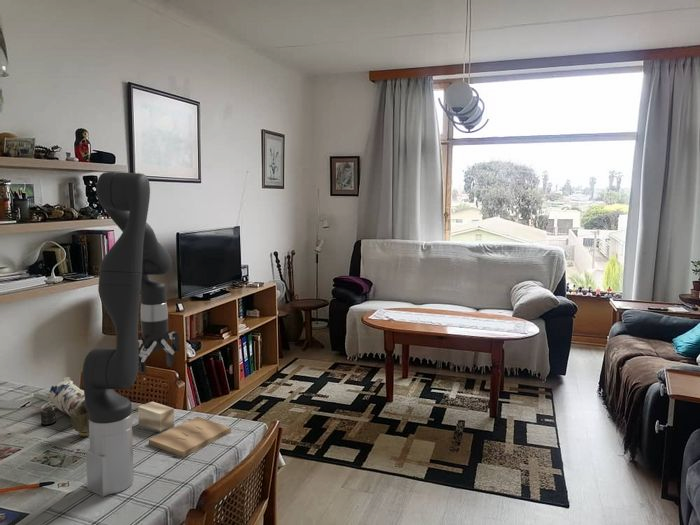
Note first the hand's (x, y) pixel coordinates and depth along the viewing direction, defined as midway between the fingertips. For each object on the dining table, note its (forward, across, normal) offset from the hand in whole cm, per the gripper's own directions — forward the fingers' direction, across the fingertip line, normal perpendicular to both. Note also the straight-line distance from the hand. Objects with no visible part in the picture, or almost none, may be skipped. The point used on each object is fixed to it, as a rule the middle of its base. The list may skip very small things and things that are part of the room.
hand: (156, 369), depth 151 cm
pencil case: (+18, -14, +26) cm, 34 cm away
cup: (+17, -18, +9) cm, 26 cm away
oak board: (+17, +1, -16) cm, 23 cm away
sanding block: (+18, -1, -1) cm, 18 cm away
